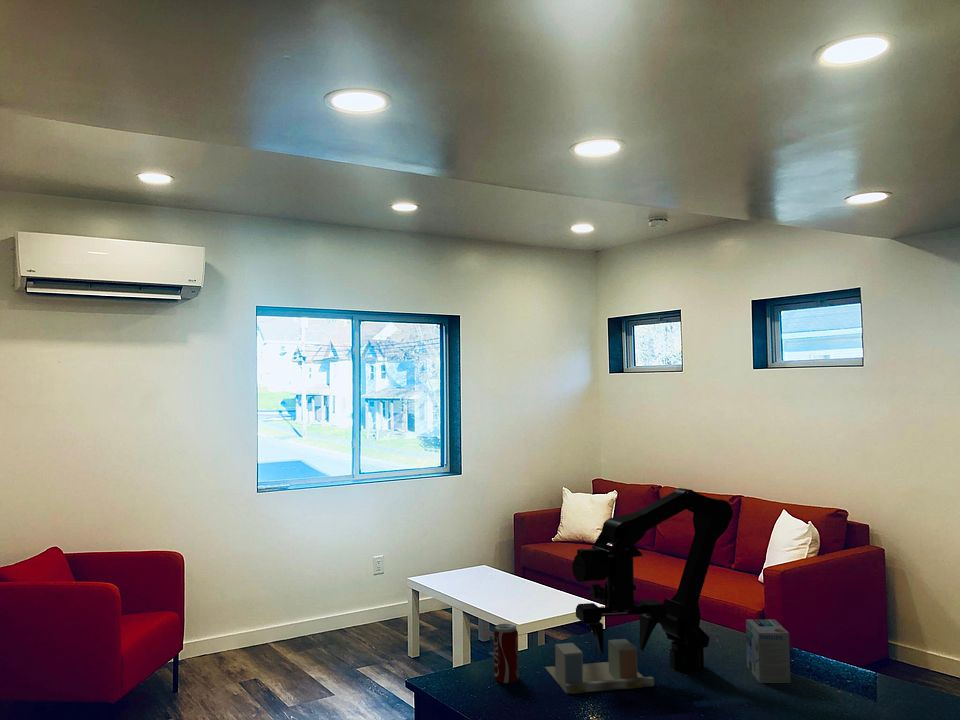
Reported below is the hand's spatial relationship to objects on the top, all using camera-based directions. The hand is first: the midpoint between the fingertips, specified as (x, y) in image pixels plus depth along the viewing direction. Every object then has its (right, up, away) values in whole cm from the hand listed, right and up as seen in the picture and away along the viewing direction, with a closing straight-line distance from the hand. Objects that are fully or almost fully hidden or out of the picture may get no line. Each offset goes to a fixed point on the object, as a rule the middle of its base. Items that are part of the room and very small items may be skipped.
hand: (621, 651), depth 164 cm
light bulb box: (+33, -7, +3) cm, 33 cm away
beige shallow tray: (-5, -7, +1) cm, 8 cm away
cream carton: (-12, -5, -3) cm, 13 cm away
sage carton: (0, -5, 0) cm, 5 cm away
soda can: (-25, -7, 0) cm, 26 cm away
